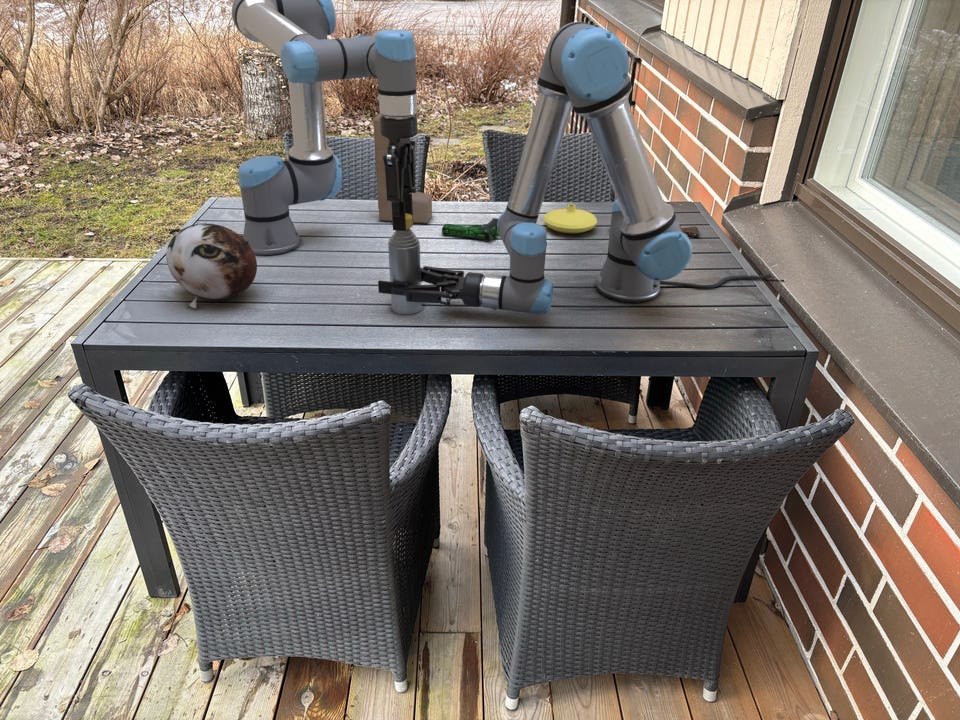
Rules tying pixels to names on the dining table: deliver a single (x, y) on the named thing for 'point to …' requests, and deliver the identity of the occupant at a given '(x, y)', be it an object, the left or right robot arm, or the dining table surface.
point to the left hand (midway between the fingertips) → (403, 226)
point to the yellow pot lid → (570, 220)
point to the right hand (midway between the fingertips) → (384, 279)
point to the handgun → (473, 230)
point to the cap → (409, 220)
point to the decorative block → (419, 200)
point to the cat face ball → (211, 261)
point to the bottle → (404, 268)
